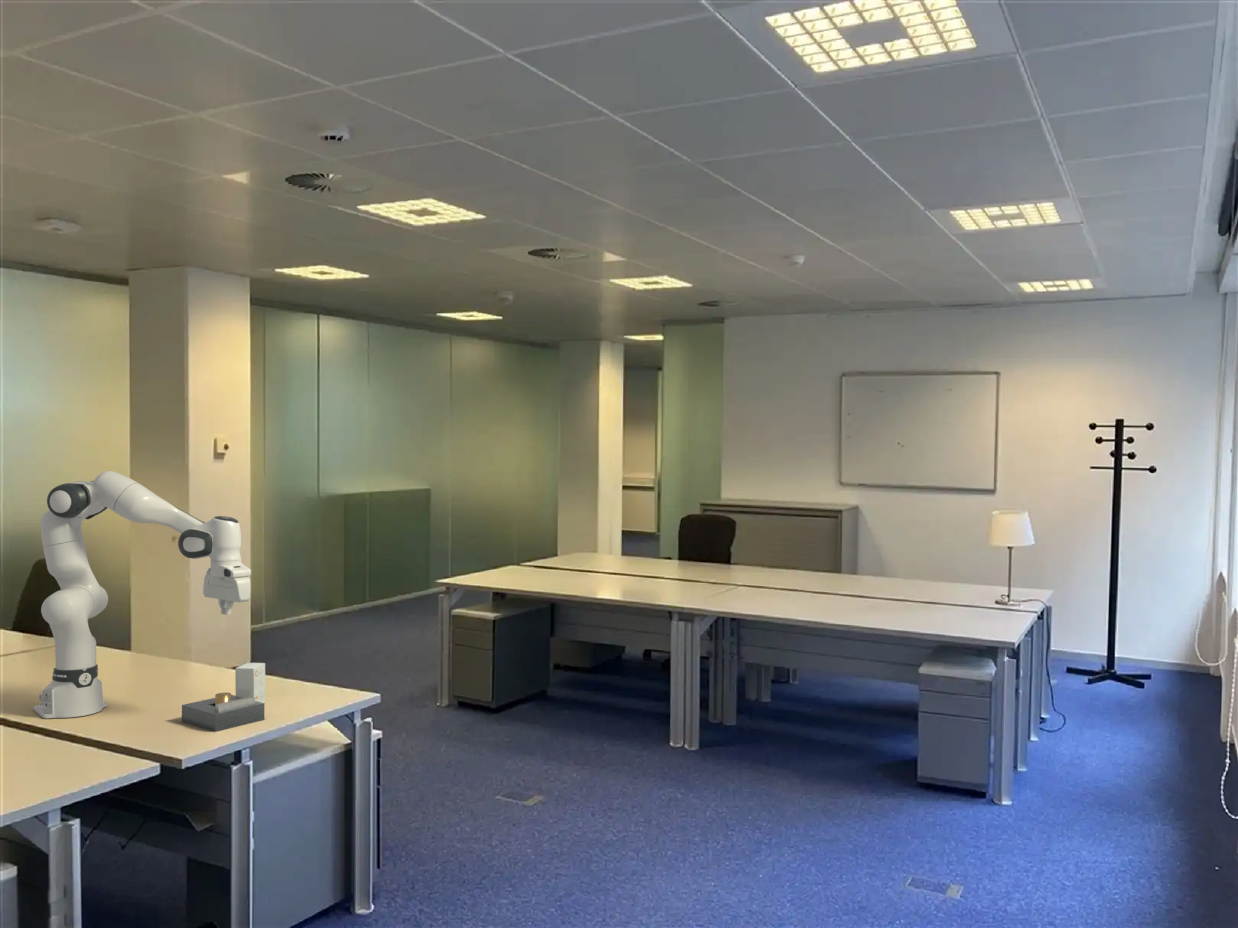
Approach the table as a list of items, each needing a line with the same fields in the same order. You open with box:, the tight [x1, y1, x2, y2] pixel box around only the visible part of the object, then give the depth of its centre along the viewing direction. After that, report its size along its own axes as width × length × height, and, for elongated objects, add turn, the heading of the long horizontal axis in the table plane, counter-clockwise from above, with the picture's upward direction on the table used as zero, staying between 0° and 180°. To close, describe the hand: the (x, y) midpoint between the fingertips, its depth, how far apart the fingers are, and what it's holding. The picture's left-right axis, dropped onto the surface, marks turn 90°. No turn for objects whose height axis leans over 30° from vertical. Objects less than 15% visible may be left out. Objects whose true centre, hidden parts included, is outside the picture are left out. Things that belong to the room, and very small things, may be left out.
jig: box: [181, 694, 265, 733], centre depth 293 cm, size 18×16×7 cm
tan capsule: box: [214, 692, 232, 704], centre depth 293 cm, size 4×4×8 cm
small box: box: [234, 662, 266, 704], centre depth 310 cm, size 8×6×13 cm
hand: (226, 614), depth 299 cm, fingers closed
